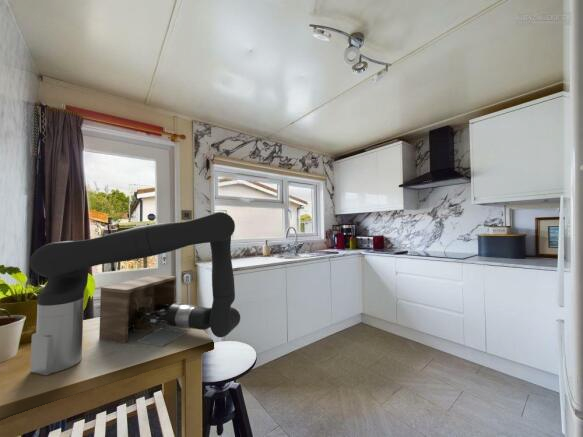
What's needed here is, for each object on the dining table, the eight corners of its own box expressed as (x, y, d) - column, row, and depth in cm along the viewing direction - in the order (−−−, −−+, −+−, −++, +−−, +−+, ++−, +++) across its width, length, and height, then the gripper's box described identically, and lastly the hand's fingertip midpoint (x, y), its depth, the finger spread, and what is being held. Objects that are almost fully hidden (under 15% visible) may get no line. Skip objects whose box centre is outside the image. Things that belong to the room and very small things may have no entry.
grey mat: (162, 346, 76) (162, 344, 76) (137, 342, 79) (137, 340, 79) (185, 333, 86) (185, 331, 86) (161, 329, 89) (162, 327, 89)
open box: (124, 343, 78) (126, 290, 78) (99, 338, 81) (100, 287, 82) (175, 318, 99) (176, 276, 100) (153, 315, 102) (154, 274, 103)
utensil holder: (155, 326, 92) (156, 294, 92) (138, 332, 86) (139, 298, 86) (145, 323, 94) (146, 292, 94) (128, 329, 88) (129, 296, 89)
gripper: (197, 299, 92) (162, 295, 96) (168, 311, 78) (129, 306, 83) (197, 319, 92) (162, 314, 96) (168, 335, 78) (128, 328, 83)
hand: (147, 310), depth 90 cm, fingers open, 8 cm apart
